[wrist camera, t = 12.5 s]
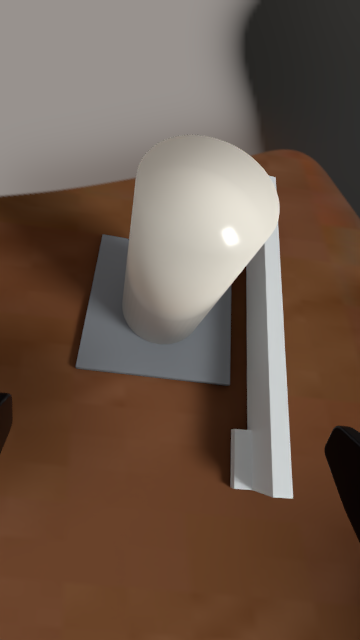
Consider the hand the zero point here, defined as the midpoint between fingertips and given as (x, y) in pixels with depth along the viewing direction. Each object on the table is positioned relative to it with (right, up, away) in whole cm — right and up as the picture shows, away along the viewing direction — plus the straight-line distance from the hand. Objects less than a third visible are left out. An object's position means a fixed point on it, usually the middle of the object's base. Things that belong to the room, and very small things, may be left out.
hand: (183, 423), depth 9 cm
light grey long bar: (+5, +3, +12) cm, 14 cm away
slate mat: (-1, +4, +11) cm, 12 cm away
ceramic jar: (-1, +4, +11) cm, 12 cm away
